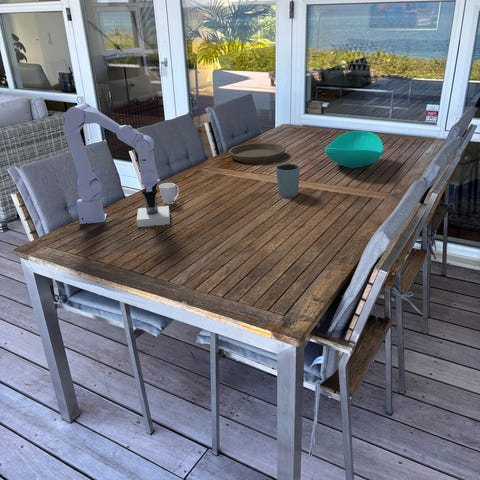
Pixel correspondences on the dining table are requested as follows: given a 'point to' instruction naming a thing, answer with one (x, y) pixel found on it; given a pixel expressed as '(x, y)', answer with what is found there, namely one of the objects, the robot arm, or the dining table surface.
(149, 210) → the grey cylinder
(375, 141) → the table top decor
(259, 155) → the plant saucer
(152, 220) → the base block
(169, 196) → the cup
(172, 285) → the dining table surface
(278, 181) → the drinking glass
